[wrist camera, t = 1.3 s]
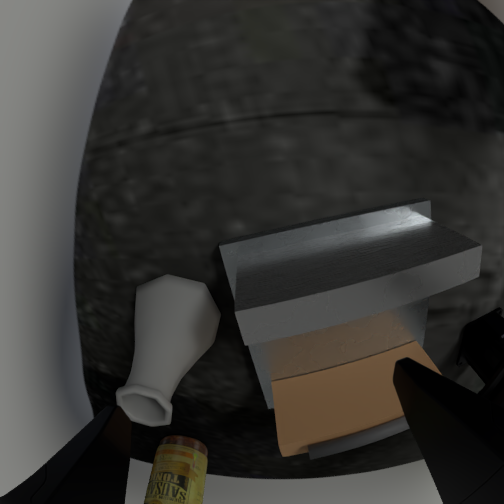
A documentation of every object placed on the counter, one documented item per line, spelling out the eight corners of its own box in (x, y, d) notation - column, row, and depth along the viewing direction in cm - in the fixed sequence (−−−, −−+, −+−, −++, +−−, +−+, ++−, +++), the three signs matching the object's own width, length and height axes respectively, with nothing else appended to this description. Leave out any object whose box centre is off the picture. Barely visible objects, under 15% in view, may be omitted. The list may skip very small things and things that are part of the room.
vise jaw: (414, 355, 23) (452, 412, 16) (275, 395, 24) (284, 469, 16) (416, 340, 22) (458, 398, 15) (271, 381, 23) (280, 458, 16)
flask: (146, 348, 23) (110, 437, 14) (125, 275, 21) (61, 354, 11) (226, 348, 23) (220, 447, 14) (215, 269, 21) (196, 362, 11)
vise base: (415, 359, 25) (449, 411, 17) (267, 401, 26) (274, 468, 18) (423, 197, 19) (493, 225, 12) (220, 241, 20) (206, 297, 12)
